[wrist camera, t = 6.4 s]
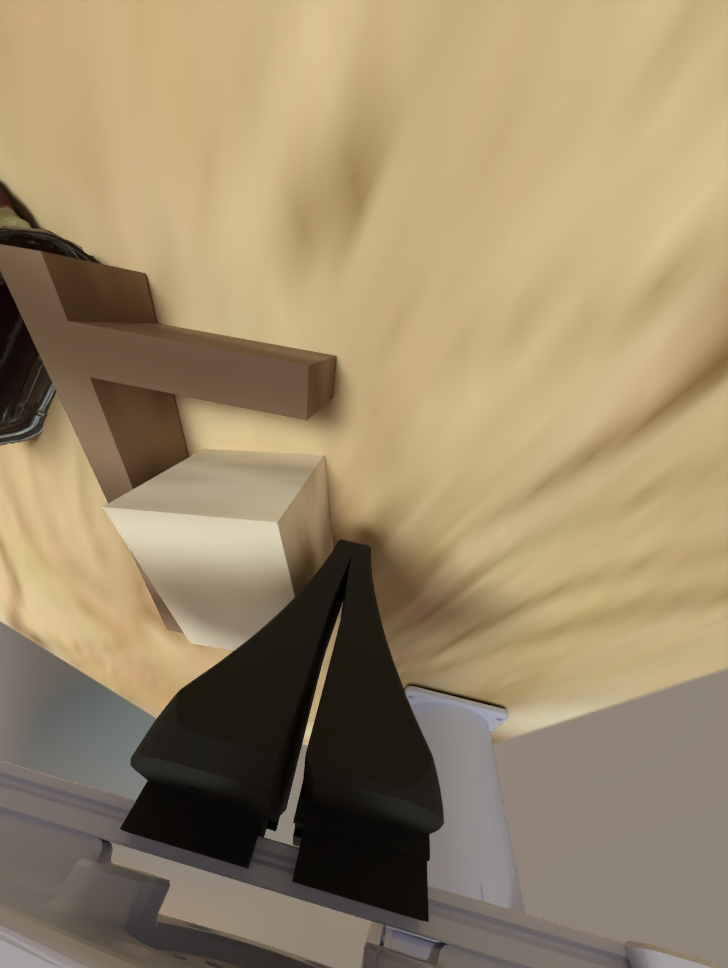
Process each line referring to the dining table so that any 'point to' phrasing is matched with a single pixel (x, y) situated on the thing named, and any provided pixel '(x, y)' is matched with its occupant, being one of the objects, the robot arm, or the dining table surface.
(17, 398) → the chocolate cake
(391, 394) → the dining table surface
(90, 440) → the walnut stop
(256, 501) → the maple block
